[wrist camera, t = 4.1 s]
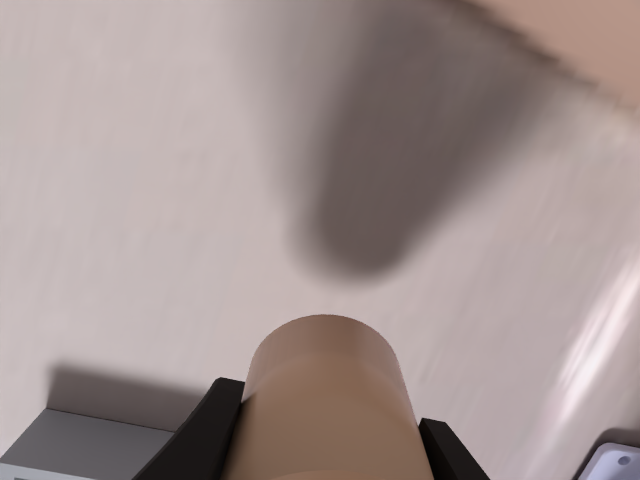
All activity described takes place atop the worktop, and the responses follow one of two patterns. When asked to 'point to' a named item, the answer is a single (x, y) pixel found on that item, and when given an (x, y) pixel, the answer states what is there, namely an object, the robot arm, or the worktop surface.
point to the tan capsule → (325, 408)
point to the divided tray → (80, 449)
